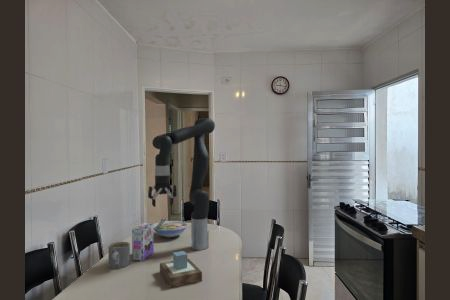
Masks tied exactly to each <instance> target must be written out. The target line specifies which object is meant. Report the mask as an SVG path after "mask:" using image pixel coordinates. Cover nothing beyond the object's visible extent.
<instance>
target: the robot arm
mask: <svg viewBox="0 0 450 300" xmlns="http://www.w3.org/2000/svg"><path fill="white" fill-rule="evenodd" d="M215 126H216V125H215V121H214V120H213V119H212V118H210V117H209V118H208V117H202V118H196V120H195V121H194V123H193V125H189V126H185V127H182V128H178V129H175V130H173V131H170V132H167V133H163V134H159V135H157V136H155V137H153V139H152V142H151V143H152V146H153V148H154V149H157V150H159V153H157V154H156V155H155V160H154V162H155V164H154V165H155V168H154V186H151V185H150V186H148V192H147V198H148V199H151V206H152V207H153V208H155V207H157V206H156V199H157V197H158V195H168V197H169V199H168V200H169V206H173V204H174V198H175V197H177V185H175V184H172V185H171V183H170V182H171V181H170V180H171V169H170V156H171V152H172V147H173V145H177V144H180V143H182V142H185V141H187V140H190V139H192V138H193V139H194V141H193V142H194V144H193V157H192V169H191V170H192V173H191V184H190V190H189V195H188V199H189V202H190V203H191V205H194V206H193V207H194V210H193V212H191V216H190V217H191V218H190V219H191V220H190V221H191V225H190V226H191V230H190V231H191V236H190V238H191V239H190V240H191V243H190V244H191V249H192V250H194V251H196V250H197V251H201V250H202V251H203V250H206V249H208V248H209V247H210V245H209V243H210V242H209V239H210V238H209V237H210V233H209V230H208V214H209V211H210V210H209V209H210V207H209V206H210V197H209V194H208V192H207V191H205V190H203V184H204V179H205V177H206V175H207V172H208V169H209V162H210V155H209V152H208V150H207V146H206V144H205V135H209V134H211V133H213V132H214V131H215V128H216V127H215ZM170 189H171V190H172V193H171V191H170ZM153 191H154V192H153ZM152 192H153V194H152Z"/></svg>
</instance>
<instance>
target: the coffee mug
mask: <svg viewBox="0 0 450 300" xmlns="http://www.w3.org/2000/svg"><path fill="white" fill-rule="evenodd" d="M130 246H131V245H130V242H128V241H116V242H112V243H110V244H109V245H108V268H109V269H113V270H118V269H119V270H120V269H123V268H124V269H125V268H127V267H129V266H130V264H131V256H130V255H131V247H130Z"/></svg>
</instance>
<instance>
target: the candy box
mask: <svg viewBox="0 0 450 300" xmlns="http://www.w3.org/2000/svg"><path fill="white" fill-rule="evenodd" d="M153 225H154V222H153V223H152V222H151V223H150V222H142V224H140V225H138V226H136V227H135V228H132V231H131V232H132V233H131V239H132V244H131V245H132V247H131V248H132V250H131V251H132V252H131V253H132V255H131V256H132V257H131V258H132V259H131V261H137V262H144V260H146V259H147V258H148V257H150V256H151V255H152V254H153V253H155V250H154V246H155V245H154V229H153Z"/></svg>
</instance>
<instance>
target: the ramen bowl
mask: <svg viewBox="0 0 450 300" xmlns="http://www.w3.org/2000/svg"><path fill="white" fill-rule="evenodd" d="M187 227H188V223H187V222H185V221H181V220H167V221H166V218H165V219H161V220H160V221H159V222H156V223H153V231H154V232H155V233H156V234H158V235H159V236H162V237H165V238H167V239H168V238H171V237H172V238H175V237H177V236H180V235H181V234H182V233H183V232H184V231H185V230H186V229H187Z"/></svg>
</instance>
